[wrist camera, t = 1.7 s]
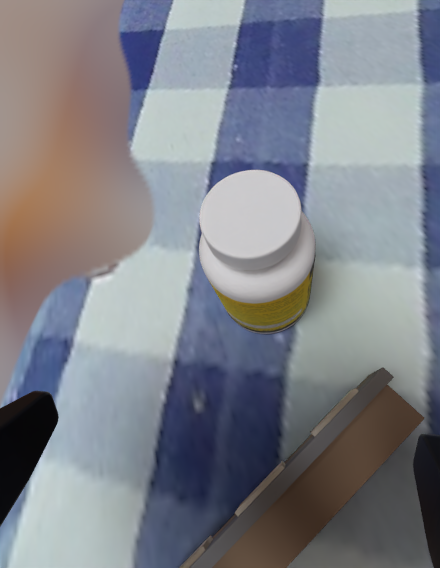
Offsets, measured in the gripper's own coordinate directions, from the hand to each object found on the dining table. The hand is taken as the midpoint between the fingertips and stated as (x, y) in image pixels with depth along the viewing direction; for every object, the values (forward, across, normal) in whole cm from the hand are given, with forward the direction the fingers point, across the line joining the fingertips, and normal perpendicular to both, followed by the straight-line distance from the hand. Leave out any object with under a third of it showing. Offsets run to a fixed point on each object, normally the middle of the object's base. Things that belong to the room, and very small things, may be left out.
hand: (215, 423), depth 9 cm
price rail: (+6, -2, +12) cm, 13 cm away
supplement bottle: (+14, 0, +4) cm, 15 cm away
